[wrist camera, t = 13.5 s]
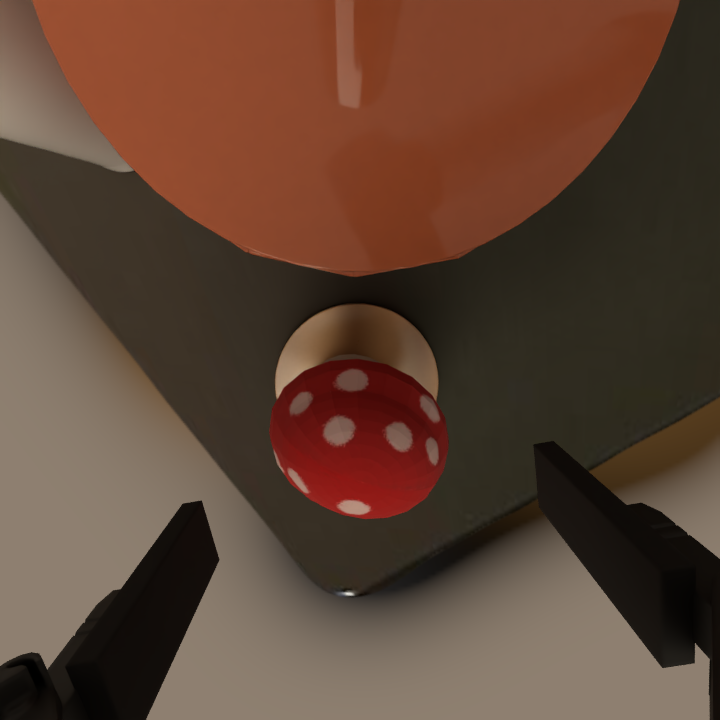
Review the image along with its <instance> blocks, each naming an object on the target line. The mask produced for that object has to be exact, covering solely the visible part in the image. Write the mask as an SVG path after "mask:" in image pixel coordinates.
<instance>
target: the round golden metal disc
mask: <svg viewBox="0 0 720 720" xmlns="http://www.w3.org/2000/svg"><path fill="white" fill-rule="evenodd" d="M349 354H356V355H361V356H365V357H369V358H372V359H374V360H376V361H378V362H380V363H383V364H387V365H389V366H391V367H393V368H396V369H398V370H400V371H402V372H404V373H406V374H408V375H410V376H412V377H413V378H414V379H415V380H416V381H418V382H419V383H420V384H421V385H422V386H423V387H424V388H425V389H426V390H427V391H428V392H429V393H430V394H432V395H433V397H434V399H435V401H436V399H437V394H438V383H439V381H438V370H437V365H436V361H435V358H434V355H433V353H432V350H431V348H430V347H429V345H428V343H427V341H426V340H425V338H424V337H423V336H422V334H421V333H420V332H419V331H418V330H417V329H416V328H415V327H414V326H413V325H412V324H411V323H410V322H409V321H407V320H406V319H405V318H404V317H402V316H400V315H399V314H397V313H395V312H393V311H391V310H389V309H387V308H384V307H380V306H377V305H373V304H366V303H349V304H341V305H337V306H333V307H330V308H328V309H325V310H323V311H320V312H319V313H317V314H315V315H313V316H312V317H310V318H309V319H308V320H306V321H305V322H304V323H303V324H302V325H301V326H300V327H299V328H298V329H297V330H296V331H295V332H294V333H293V334H292V336H291V337H290V338H289V340H288V341H287V343H286V344H285V346H284V348H283V350H282V352H281V355H280V357H279V360H278V364H277V368H276V375H275V392H276V398H277V399H278V397H279V395H280V394H281V392H282V390H283V388H284V387H285V386H286V385H288V384H289V383H290V382H291V381H292V380H293V379H295V378H296V377H297V376H298V375H299V374H301V373H302V372H303V371H304V370H307V369H309V368H312V367H315V366H317V365H320V364H322V363H324V362H325V361H326V360H328V359H330V358H333V357H336V356H339V355H349Z"/></svg>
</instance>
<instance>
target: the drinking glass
mask: <svg viewBox="0 0 720 720" xmlns="http://www.w3.org/2000/svg"><path fill="white" fill-rule="evenodd" d="M0 138H2V139H6V140H9V141H13V142H16V143H20V144H24V145H28V146H31V147H35V148H39V149H43V150H46V151H50V152H54V153H57V154H61V155H65V156H68V157H72V158H76V159H79V160H83V161H86V162H90V163H93V164H96V165H99V166H101V167H104V168H106V169H109V170H112V171H116V172H131V171H134V170H133V169H132V168H131V167H130V166H129V165H128V164H127V163H126V162H125V161H124V160H123V159H122V157H121V156H120V155H119V154H118V152H117V151H116V150H115V149H114V147H113V146H112V145H111V144H110V142H109V141H108V140H107V139H106V137H105V136H104V135H103V134H102V132H101V131H100V130H99V129H98V127H97V126H96V125H95V124H94V122H93V121H92V119H91V118H90V116H89V115H88V113H87V111H86V110H85V108H84V107H83V105H82V104H81V102H80V100H79V99H78V97H77V96H76V94H75V93H74V91H73V89H72V88H71V86H70V85H69V83H68V81H67V79H66V77H65V75H64V73H63V71H62V69H61V67H60V65H59V63H58V61H57V59H56V57H55V55H54V53H53V51H52V49H51V47H50V45H49V43H48V41H47V39H46V37H45V35H44V32H43V29H42V26H41V24H40V21H39V18H38V16H37V13H36V10H35V7H34V5H33V2H32V0H0Z"/></svg>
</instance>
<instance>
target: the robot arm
mask: <svg viewBox="0 0 720 720" xmlns="http://www.w3.org/2000/svg"><path fill="white" fill-rule="evenodd" d="M534 455H535V467H536V479H537V490H538V502H539V508H540V509H541V510H542V512H543V513H544V514H545V516H546V517H547V518H548V519H549V521H550V522H551V523H552V525H553V526H554V527H555V529H556V530H557V531H558V533H559V534H560V535H561V536H562V538H563V539H564V540H565V542H566V543H567V544H568V546H569V547H570V548H571V550H572V551H573V552H574V553H575V555H576V556H577V557H578V559H579V560H580V561H581V563H582V564H583V565H584V566H585V568H586V569H587V570H588V572H589V573H590V574H591V576H592V577H593V578H594V580H595V581H596V582H597V583H598V585H599V586H600V587H601V589H602V590H603V591H604V593H605V594H606V595H607V596H608V598H609V599H610V600H611V602H612V603H613V604H614V606H615V607H616V608H617V609H618V611H619V612H620V613H621V615H622V616H623V617H624V619H625V620H626V621H627V622H628V624H629V625H630V626H631V628H632V629H633V630H634V632H635V633H636V634H637V635H638V637H639V638H640V639H641V641H642V642H643V643H644V645H645V646H646V647H647V649H648V650H649V651H650V652H651V654H652V655H653V656H654V658H655V659H656V660H657V662H658V663H659V664H660V665H661V667H662V668H666V667H673V666H679V665H686V664H692V663H695V643H696V644H697V645H698V647H699V648H700V649H701V650H702V651H703V652H704V653H705V654H706V655H707V656H708V658H709V659H710V669H709V671H710V672H709V695H710V720H720V559H719V558H718V557H717V556H715V555H714V554H713V553H712V552H710V551H709V550H708V549H707V548H705V547H704V546H703V545H702V544H700V543H699V542H698V541H697V540H695V539H694V538H693V537H692V536H690V535H688V534H687V532H685V531H684V530H683V529H682V528H680V527H679V526H676V525H675V523H674V522H673V521H671V520H670V519H669V518H668V517H666V516H665V515H664V514H663V513H662V512H660V511H658V510H656V509H654V508H651V507H650V506H647V505H645V504H643V503H637V504H631V505H626V504H625V503H623V502H622V501H621V500H620V499H619V498H618V497H617V496H615V495H614V494H613V493H612V492H611V491H610V490H609V489H608V488H606V487H605V486H604V485H603V484H602V483H601V482H599V481H598V480H597V479H596V478H595V477H594V476H593V475H592V474H590V473H589V472H588V471H587V470H586V469H585V468H584V467H582V466H581V465H580V464H579V463H578V462H577V461H576V460H574V459H573V458H572V457H571V456H570V455H569V454H568V453H566V452H565V451H564V450H563V449H562V448H561V447H560V446H558V445H557V444H556V443H555V442H554V441H551V442H545V443H539V444H534ZM218 562H219V557H218V554H217V550H216V547H215V544H214V541H213V537H212V534H211V530H210V527H209V523H208V520H207V517H206V513H205V510H204V507H203V503H202V501H196V502H191V503H184V504H182V505H181V507H180V508H179V510H178V511H177V512H176V514H175V515H174V517H173V518H172V519H171V521H170V522H169V523H168V525H167V526H166V528H165V529H164V530H163V532H162V533H161V534H160V536H159V537H158V539H157V540H156V542H155V543H154V544H153V546H152V547H151V548H150V550H149V551H148V552H147V554H146V555H145V557H144V558H143V559H142V561H141V562H140V563H139V565H138V566H137V568H136V569H135V570H134V572H133V573H132V574H131V576H130V577H129V579H128V580H127V581H126V583H125V584H124V586H123V587H122V588H121V589H120V590H113V591H112V592H111V593H110V594H109V595H107V596H106V597H105V598H104V599H103V600H102V601H101V602H99V603H98V604H97V605H96V607H95V608H94V609H93V611H92V612H91V613H90V614H89V616H88V617H87V618H86V620H85V623H83V624H82V625H81V626H80V628H79V629H78V630H77V632H76V634H75V636H73V637H72V638H71V639H70V641H69V642H68V643H67V645H66V646H65V647H64V649H63V650H62V651H61V652H60V654H59V655H58V656H57V658H56V659H55V660H54V662H53V663H52V664H51V666H50V667H49V668H48V670H47V669H46V666H45V664H44V662H43V660H42V658H41V656H40V655H39V654H38V653H32V652H31V653H27V654H23V655H20V656H18V657H16V658H14V659H12V660H9V661H7V662H6V663H4V664H3V665H1V666H0V720H146V718H147V716H148V714H149V712H150V709H151V707H152V705H153V703H154V701H155V699H156V696H157V694H158V692H159V690H160V688H161V685H162V683H163V681H164V679H165V677H166V675H167V673H168V670H169V668H170V666H171V664H172V662H173V660H174V657H175V655H176V653H177V651H178V649H179V647H180V644H181V642H182V640H183V638H184V636H185V634H186V631H187V629H188V627H189V625H190V623H191V620H192V618H193V616H194V614H195V612H196V610H197V607H198V605H199V603H200V601H201V599H202V596H203V594H204V592H205V590H206V588H207V586H208V584H209V581H210V579H211V577H212V575H213V573H214V570H215V568H216V566H217V564H218Z"/></svg>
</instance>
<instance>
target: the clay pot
mask: <svg viewBox="0 0 720 720" xmlns="http://www.w3.org/2000/svg"><path fill="white" fill-rule="evenodd" d="M32 2H33V5H34V7H35V10H36V13H37V16H38V18H39V21H40V24H41V26H42V29H43V32H44V35H45V37H46V39H47V41H48V43H49V45H50V47H51V49H52V51H53V53H54V55H55V57H56V59H57V61H58V63H59V65H60V67H61V69H62V71H63V73H64V75H65V77H66V79H67V81H68V83H69V85H70V86H71V88H72V89H73V91H74V93H75V94H76V96H77V97H78V99H79V100H80V102H81V104H82V105H83V107H84V108H85V110H86V111H87V113H88V115H89V116H90V118H91V119H92V121H93V122H94V124H95V125H96V126H97V127H98V129H99V130H100V131H101V132H102V134H103V135H104V136H105V137H106V139H107V140H108V141H109V142H110V144H111V145H112V146H113V147H114V149H115V150H116V151H117V152H118V154H119V155H120V156H121V157H122V159H123V160H124V161H125V162H126V163H127V164H128V165H129V166H130V167H131V168H132V169H133V170H134V171H135V172H136V173H137V174H138V175H139V176H140V177H141V178H143V179H144V180H145V181H146V182H147V183H148V184H149V185H150V186H151V187H152V188H153V189H154V190H155V191H156V192H157V193H158V194H160V195H161V196H162V197H164V198H165V199H166V200H167V201H169V202H170V203H171V204H173V205H174V206H175V207H176V208H178V209H179V210H180V211H182V212H183V213H184V214H185V215H187V216H188V217H189V218H191V219H193V220H194V221H196V222H198V223H199V224H201V225H203V226H204V227H206V228H208V229H209V230H211V231H213V232H214V233H216V234H218V235H219V236H221V237H223V238H225V239H227V240H229V241H230V242H232V243H233V244H235V245H236V246H238V247H239V248H240V249H242V250H243V251H245V252H246V253H250V254H252V255H256V256H261V257H265V258H270V259H274V260H279V261H283V262H287V263H292V264H295V265H299V266H305V267H310V268H314V269H319V270H323V271H328V272H332V273H337V274H341V275H346V276H350V277H354V276H355V277H360V276H365V275H371V274H376V273H381V272H387V271H392V270H398V269H404V268H412V267H416V266H420V265H425V264H431V263H436V262H442V261H447V260H453V259H458V258H460V257H462V256H464V255H466V254H467V253H469V252H470V251H472V250H473V249H475V248H476V247H478V246H481V245H483V244H485V243H487V242H489V241H491V240H492V239H494V238H496V237H498V236H500V235H501V234H503V233H505V232H507V231H509V230H510V229H512V228H514V227H516V226H518V225H519V224H521V223H522V222H523V221H525V220H526V219H528V218H529V217H530V216H532V215H533V214H534V213H536V212H537V211H538V210H540V209H541V208H543V207H544V206H545V205H547V204H548V203H549V202H551V201H552V200H553V199H554V198H555V197H556V196H557V195H558V194H560V193H561V192H562V191H563V190H564V189H565V188H566V187H567V186H568V185H569V184H570V183H571V182H572V181H573V180H575V179H576V178H577V177H578V176H579V175H580V174H581V173H582V172H583V171H584V170H585V168H586V167H587V166H588V165H589V164H590V163H591V161H592V160H593V159H594V158H595V157H596V155H597V154H598V153H599V152H600V151H601V150H602V148H603V147H604V146H605V145H606V144H607V143H608V141H609V140H610V139H611V138H612V136H613V135H614V133H615V132H616V130H617V129H618V127H619V126H620V124H621V123H622V121H623V120H624V118H625V117H626V115H627V114H628V112H629V111H630V109H631V108H632V106H633V105H634V103H635V102H636V100H637V98H638V96H639V94H640V93H641V91H642V89H643V87H644V85H645V83H646V81H647V79H648V77H649V75H650V73H651V71H652V70H653V68H654V66H655V64H656V62H657V60H658V58H659V56H660V53H661V51H662V48H663V45H664V43H665V40H666V38H667V35H668V33H669V30H670V28H671V25H672V23H673V20H674V17H675V15H676V12H677V9H678V6H679V2H680V0H32Z"/></svg>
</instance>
